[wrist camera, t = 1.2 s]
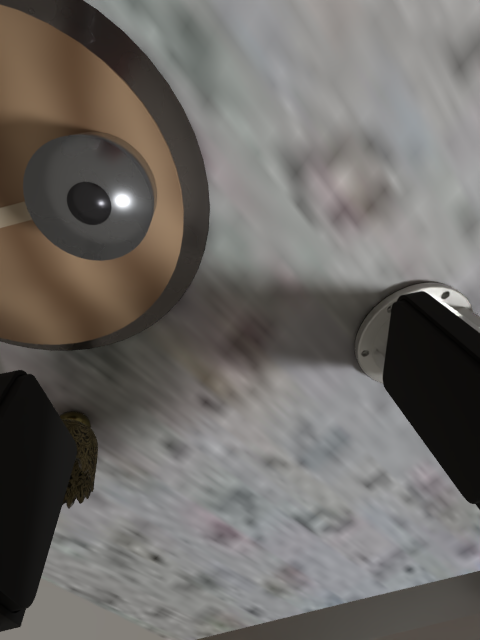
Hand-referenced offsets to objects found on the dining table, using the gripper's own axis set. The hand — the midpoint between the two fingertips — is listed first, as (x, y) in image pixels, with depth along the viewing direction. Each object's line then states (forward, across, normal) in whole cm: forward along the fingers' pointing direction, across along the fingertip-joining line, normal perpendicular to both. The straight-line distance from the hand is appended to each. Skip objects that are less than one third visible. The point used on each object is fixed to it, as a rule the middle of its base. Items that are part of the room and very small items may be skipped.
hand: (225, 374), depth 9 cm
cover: (+18, +6, -2) cm, 20 cm away
